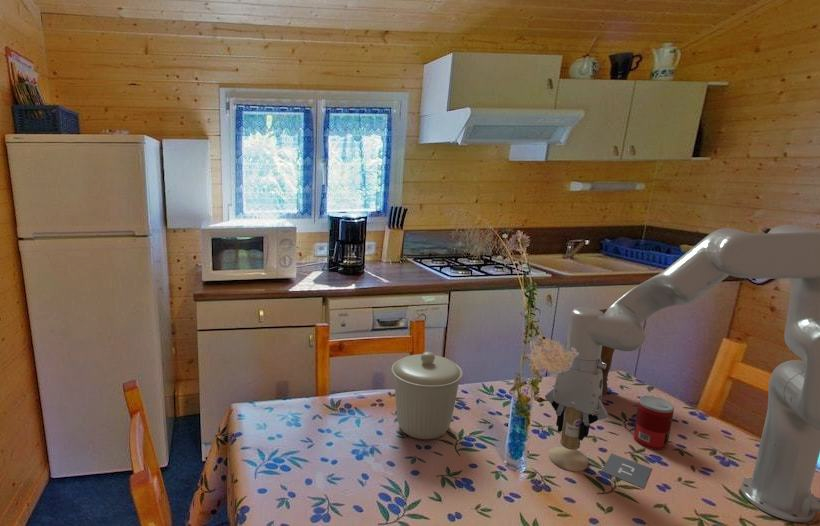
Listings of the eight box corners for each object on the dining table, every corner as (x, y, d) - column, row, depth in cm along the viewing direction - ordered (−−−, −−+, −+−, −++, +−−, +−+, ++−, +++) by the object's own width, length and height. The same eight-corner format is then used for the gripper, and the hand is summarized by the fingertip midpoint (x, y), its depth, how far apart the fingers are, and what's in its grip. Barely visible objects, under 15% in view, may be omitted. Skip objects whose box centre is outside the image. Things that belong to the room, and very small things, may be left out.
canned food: (671, 452, 117) (678, 412, 115) (637, 447, 119) (643, 407, 116) (661, 435, 124) (668, 397, 122) (629, 431, 126) (635, 393, 124)
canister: (471, 439, 118) (478, 361, 114) (406, 455, 110) (411, 372, 106) (437, 405, 134) (441, 336, 130) (378, 417, 126) (381, 343, 122)
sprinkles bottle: (569, 452, 108) (577, 399, 106) (555, 441, 112) (562, 390, 110) (584, 448, 110) (591, 395, 108) (569, 437, 114) (576, 387, 112)
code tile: (651, 468, 110) (651, 468, 110) (643, 488, 103) (643, 488, 103) (611, 453, 115) (611, 453, 115) (601, 471, 108) (601, 470, 108)
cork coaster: (593, 458, 113) (593, 456, 113) (581, 476, 106) (581, 474, 106) (556, 443, 118) (556, 441, 118) (543, 460, 111) (543, 458, 111)
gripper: (624, 367, 105) (612, 440, 109) (551, 347, 115) (542, 414, 119) (616, 378, 99) (604, 455, 103) (539, 355, 109) (531, 427, 113)
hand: (571, 432), depth 111 cm, fingers closed on sprinkles bottle, 4 cm apart
